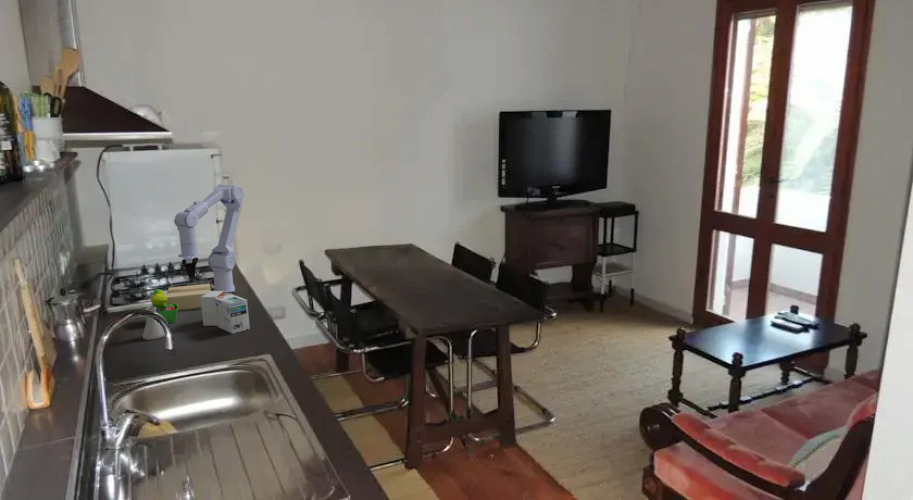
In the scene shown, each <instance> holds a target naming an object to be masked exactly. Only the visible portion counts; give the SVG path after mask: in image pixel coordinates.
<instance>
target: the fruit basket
mask: <svg viewBox="0 0 913 500" xmlns="http://www.w3.org/2000/svg"><path fill="white" fill-rule="evenodd" d="M166 295H167V294H166V293H165V291H163V290H161V289H160V288H159V289H158V288H157V289H154V291H153V293H152V296H151V297H150V302H151V304H152V306H150V307H156V310H155V311H156V312H157V313H159V314H161V315H162V316H163V317H164V318H165V319H166V320H167V322H168V323H167V324H172V323H173V324H174V323H176V322H177V316H178V304H167V297H166ZM148 307H149V306H146V307H143V308H142V310H143V309H146V308H148ZM144 319H145V322H146V321H147V318H145V317H144Z"/></svg>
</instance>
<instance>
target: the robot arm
mask: <svg viewBox="0 0 913 500" xmlns="http://www.w3.org/2000/svg"><path fill="white" fill-rule="evenodd" d="M244 195H245V192H244V189H243V188H242V187H241V185H238V184H223V183H220V184H218V185H217V186H215V187H214V188H213V191H212V192H210V193H209V194H208V195H207V196H206V197H205V198H204V199H203V200H195V201H193V204H191V205H190V206H189V207H186V208H185V209H184V210H183V211H179V212H177V214H175V216H174V219H173V223H174V224H175V226H176V227H177V228H176V229H177V231H178V234H179V236H178V237H179V243H180V253H181V254H178V258H182V260H181V263H182V264H183V266H184V267H185V269H186V274H187V276H188V278H189V279H191V278H193V279H194V278H195V277H196V272H197V271H196V270H197V268H196V267H197V263H198V262H199V257H198V256H199V253H198V245H197V236H196V235H197V234H196V226H197V224H198V221H200V219H201V218H203V217H204V216H205V215H206V214H207V213H208V212H209V208H210V207H212V206H213V205H215V204H216V203H218V202H220V203H221V204H222V205H223V206H224V207H225V209H226V212H225V215H224V220H223V223H222V228H221V231H220V234H219V235H220V236H219V238H218V239H219V240H218V244H217V246H214V248H212V249H211V252H210V254H209V255H208V258H207V264H208V266H209V267H210V268H211V271H212V272H213V282H214V287H213V291H224V293H225V294H226V293H234V292H236V288H235V287H236V286H235V284H234V279H233V270H234V267H235V265H236V255H237V254H236V252H235V250H233V244H234V241H235V236H236V231H237V228H238V224H239V219H240V216H241V211H242V204H243V199H244V197H245V196H244Z"/></svg>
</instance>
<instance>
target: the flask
mask: <svg viewBox="0 0 913 500" xmlns="http://www.w3.org/2000/svg"><path fill="white" fill-rule="evenodd" d="M147 307H148V308H146V307H145V308H146V310H151V311H153V312H156V311H155V310H156V307H151V306H147ZM164 331H165V330H164V328H163V326H162V324H161V325H160V323H158V322H157V321H156V320H154V319H153V318H149V317H147V321H146V320H145V327H144V331H143V333H142V339H143V340H147V341H150V340H156V339H157V340H158V339H161V338H164V337H166V336H165V334H166V332H165V333H164Z"/></svg>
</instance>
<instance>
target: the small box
mask: <svg viewBox="0 0 913 500" xmlns="http://www.w3.org/2000/svg"><path fill="white" fill-rule="evenodd" d="M225 294H226V293H224V291H214V290H211V291H209V292H208V293H206V294H205V295H203V296H202V297H201V307H202V308H201V314H202V324H203V326H204V327H205V326H206V327H209V326H210V327H211V326H212V327H214V326H217V327H218V323H217V313H216V304H215V298H216V297H221V296H225Z"/></svg>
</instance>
